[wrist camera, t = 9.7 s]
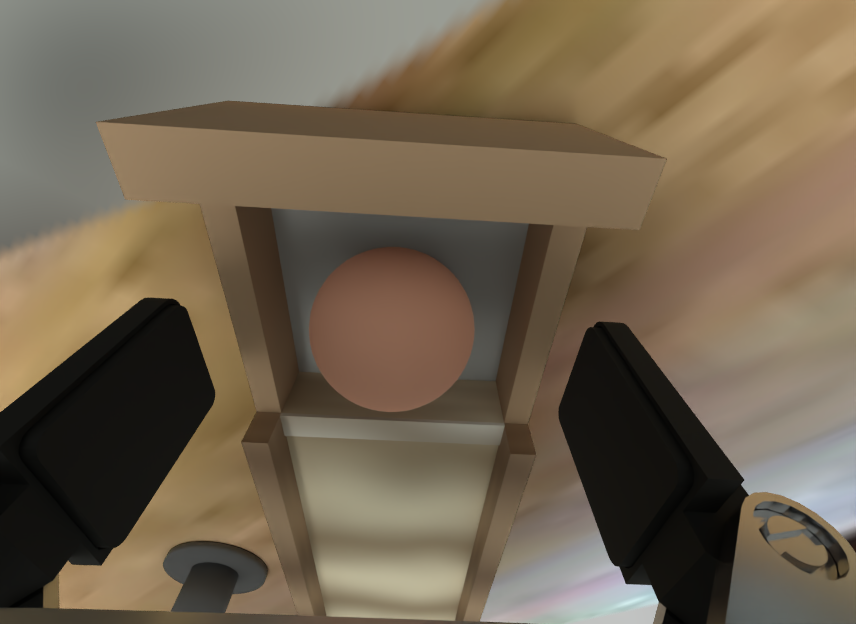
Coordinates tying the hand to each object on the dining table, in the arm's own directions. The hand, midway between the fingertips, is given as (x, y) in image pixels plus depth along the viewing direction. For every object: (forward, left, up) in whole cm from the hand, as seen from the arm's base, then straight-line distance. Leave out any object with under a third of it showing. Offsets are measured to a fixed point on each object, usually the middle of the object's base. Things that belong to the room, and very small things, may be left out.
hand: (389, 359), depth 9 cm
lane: (-13, 0, -4) cm, 13 cm away
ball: (0, 0, -4) cm, 4 cm away
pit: (0, 0, -4) cm, 4 cm away
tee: (-21, +11, -4) cm, 24 cm away
